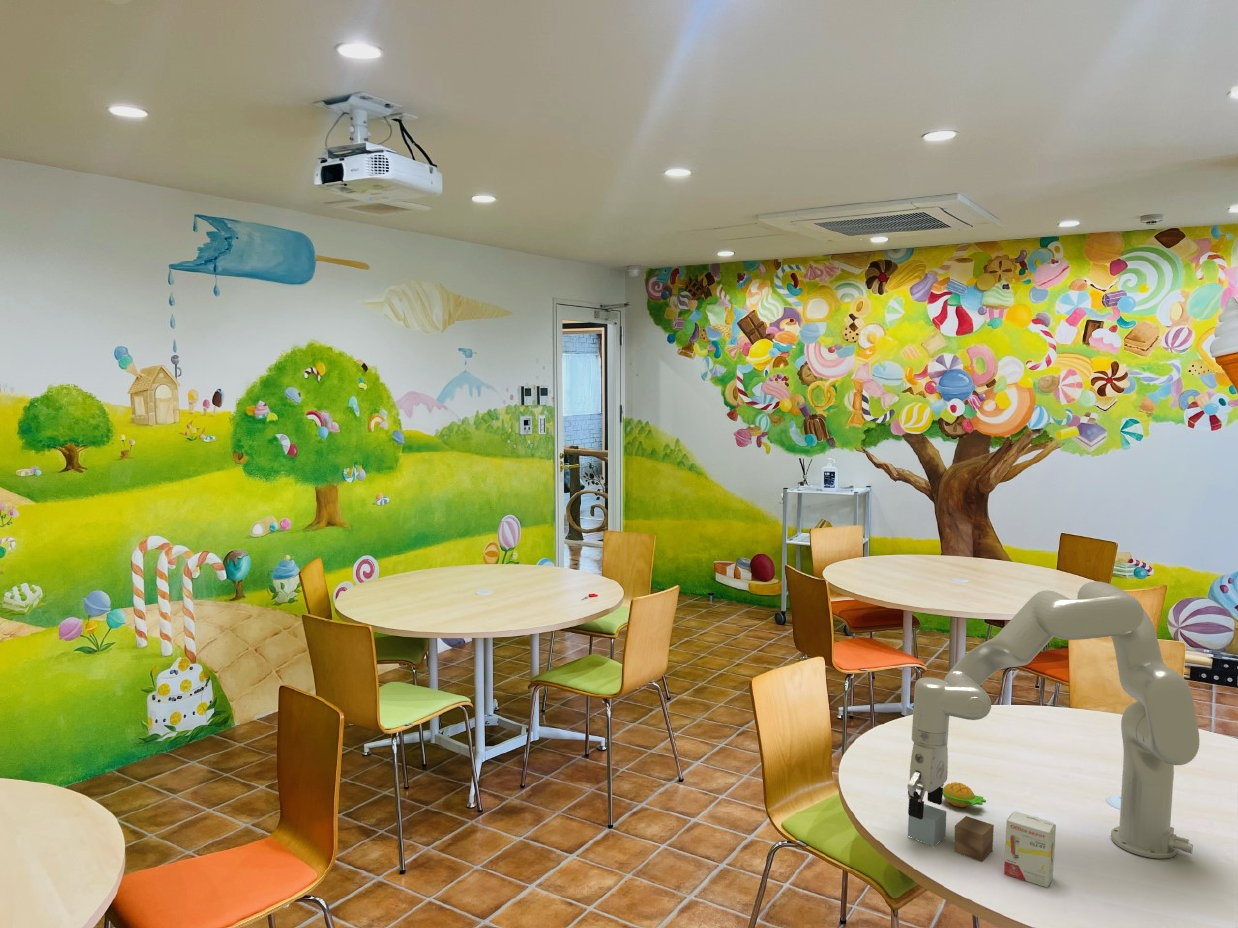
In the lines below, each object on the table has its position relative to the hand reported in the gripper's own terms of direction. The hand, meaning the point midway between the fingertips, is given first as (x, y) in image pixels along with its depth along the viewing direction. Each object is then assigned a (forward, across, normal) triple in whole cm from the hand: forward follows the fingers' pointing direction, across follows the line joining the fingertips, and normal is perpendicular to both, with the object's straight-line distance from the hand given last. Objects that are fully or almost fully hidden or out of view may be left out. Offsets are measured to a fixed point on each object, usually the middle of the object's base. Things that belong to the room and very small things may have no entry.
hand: (925, 809), depth 198 cm
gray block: (+6, 0, 0) cm, 6 cm away
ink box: (+6, -1, -22) cm, 23 cm away
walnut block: (+6, +1, -10) cm, 12 cm away
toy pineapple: (+6, +20, 0) cm, 21 cm away
